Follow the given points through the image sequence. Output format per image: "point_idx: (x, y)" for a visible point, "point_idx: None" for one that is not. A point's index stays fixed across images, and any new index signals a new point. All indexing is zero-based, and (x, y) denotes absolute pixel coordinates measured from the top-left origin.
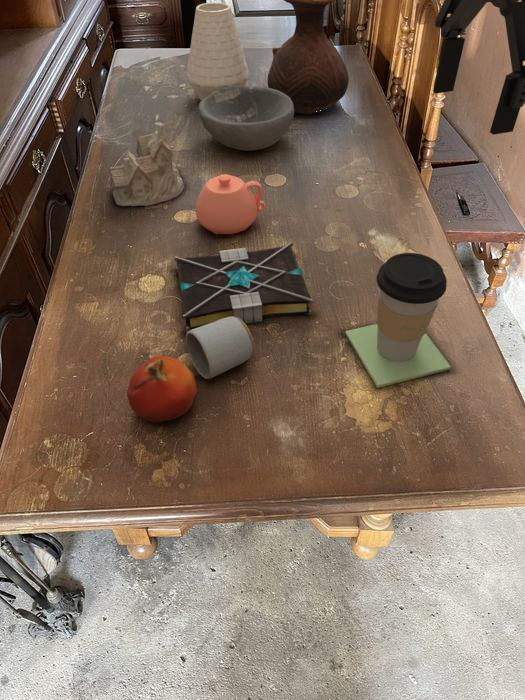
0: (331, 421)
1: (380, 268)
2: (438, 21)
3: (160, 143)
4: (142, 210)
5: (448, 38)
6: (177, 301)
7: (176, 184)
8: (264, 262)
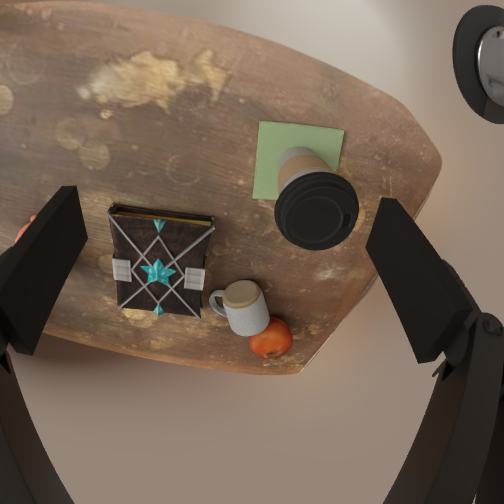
0: (337, 245)
1: (287, 238)
2: None
3: None
4: None
5: (7, 339)
6: None
7: None
8: (138, 248)
